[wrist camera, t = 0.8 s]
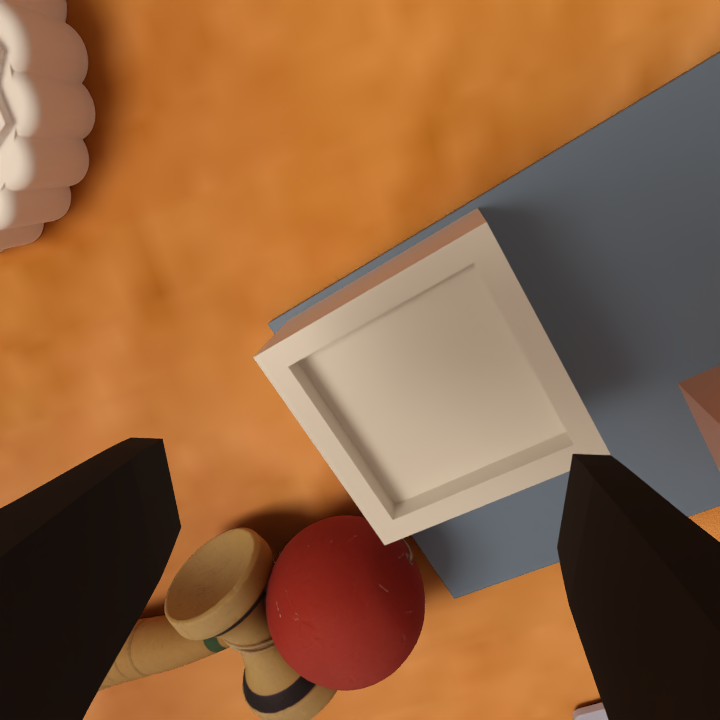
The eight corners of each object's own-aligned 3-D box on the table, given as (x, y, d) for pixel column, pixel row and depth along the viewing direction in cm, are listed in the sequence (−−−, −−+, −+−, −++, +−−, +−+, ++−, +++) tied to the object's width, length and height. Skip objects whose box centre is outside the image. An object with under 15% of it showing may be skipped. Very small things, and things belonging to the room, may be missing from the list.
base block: (578, 397, 19) (610, 454, 15) (394, 479, 21) (384, 545, 17) (477, 207, 17) (486, 221, 13) (288, 319, 19) (253, 357, 16)
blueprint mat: (908, 430, 18) (918, 436, 17) (454, 591, 23) (454, 598, 23) (764, 24, 14) (772, 21, 14) (271, 320, 20) (267, 324, 19)
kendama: (177, 671, 30) (474, 620, 22) (84, 782, 24) (442, 764, 16) (110, 551, 29) (393, 455, 21) (-1, 635, 23) (330, 546, 16)
